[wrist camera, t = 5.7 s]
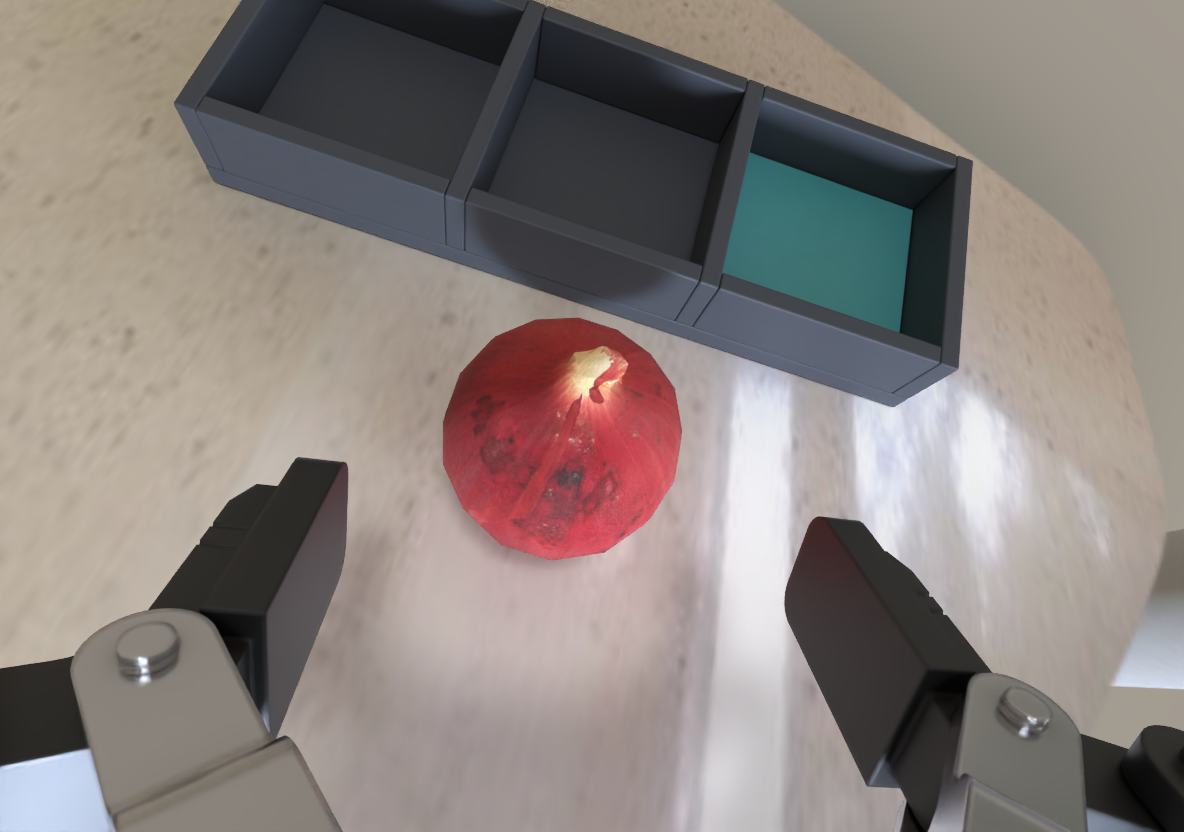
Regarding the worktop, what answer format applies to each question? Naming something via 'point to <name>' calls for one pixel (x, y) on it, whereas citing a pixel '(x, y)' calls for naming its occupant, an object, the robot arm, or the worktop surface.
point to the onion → (561, 437)
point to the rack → (600, 177)
